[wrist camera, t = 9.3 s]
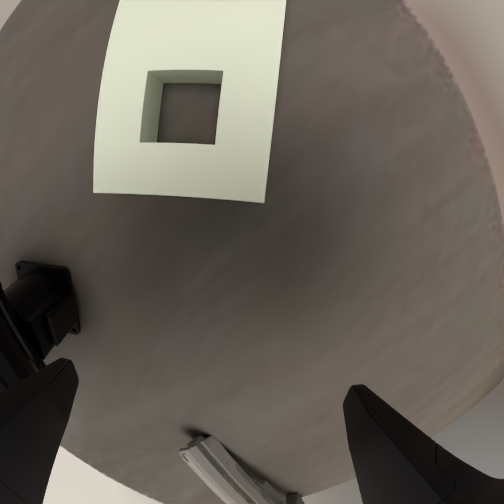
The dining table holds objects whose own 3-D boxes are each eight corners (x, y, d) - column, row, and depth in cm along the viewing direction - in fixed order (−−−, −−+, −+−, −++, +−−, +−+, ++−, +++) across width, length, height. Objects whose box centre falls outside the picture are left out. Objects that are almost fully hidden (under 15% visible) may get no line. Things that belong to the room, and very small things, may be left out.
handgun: (206, 393, 38) (168, 456, 23) (224, 386, 37) (192, 452, 22) (295, 505, 37) (291, 563, 22) (310, 501, 37) (310, 560, 22)
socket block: (259, 193, 19) (264, 203, 15) (116, 184, 18) (93, 192, 15) (286, -46, 12) (293, -70, 9) (157, -47, 11) (147, -70, 8)
